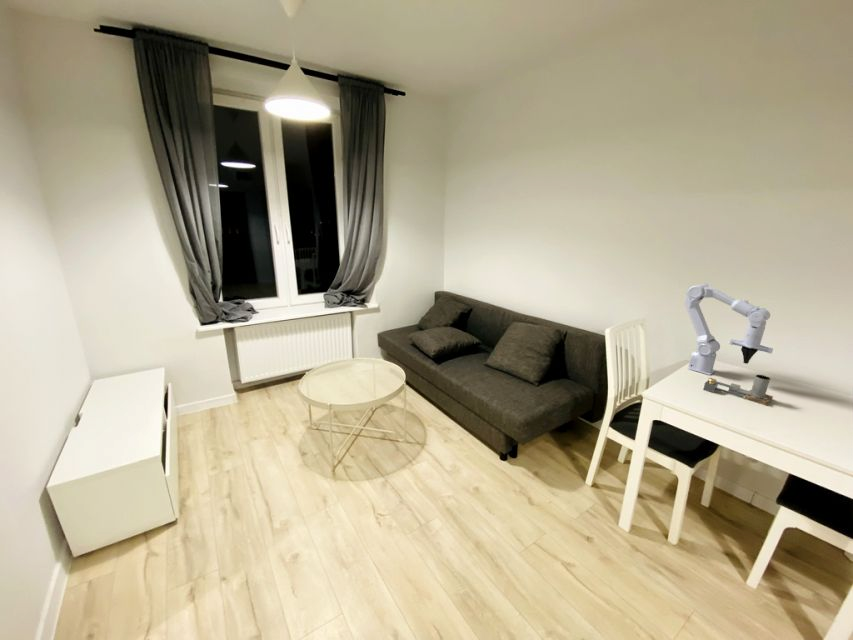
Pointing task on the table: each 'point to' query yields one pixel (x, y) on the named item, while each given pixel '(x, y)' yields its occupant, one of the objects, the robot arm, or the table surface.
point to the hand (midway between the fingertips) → (745, 362)
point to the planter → (760, 387)
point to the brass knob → (712, 381)
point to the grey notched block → (738, 390)
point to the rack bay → (759, 399)
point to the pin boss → (710, 387)
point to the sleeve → (728, 391)
